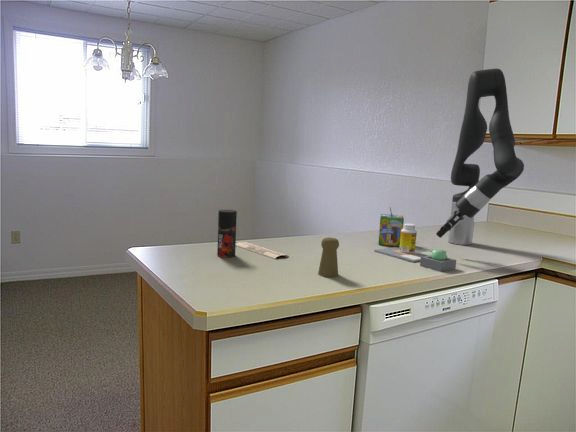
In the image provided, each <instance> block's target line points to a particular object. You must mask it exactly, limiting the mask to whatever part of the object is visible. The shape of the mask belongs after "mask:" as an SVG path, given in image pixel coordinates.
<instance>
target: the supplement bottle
mask: <svg viewBox="0 0 576 432" xmlns="http://www.w3.org/2000/svg"><path fill="white" fill-rule="evenodd" d="M417 232H418V231H417V230H416V224H415V223H404V224H403V229H402V230H401V238H400V246H399V247H400V249H399V250H400V251H401V252H404V253H414V252H415V247H416V243H417V242H416V241H417V234H418V233H417Z"/></svg>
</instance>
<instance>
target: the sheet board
mask: <svg viewBox="0 0 576 432" xmlns="http://www.w3.org/2000/svg"><path fill="white" fill-rule="evenodd" d="M399 249H400V246H391V247H385V248H377V249H374V251H373V252H375V253H379V254H382V255H386V256H389V257H392V258H396V259H398V260H401V261H402V260H403V261H406V262H410V263H418V262H419V263H420V261H421V257H424V256H430V255H432V250H429V249H428V250H427V249H424V248H420V247H416V246H415V252H414V253H404V252H401V251H400V250H399ZM446 257H447V258H448V255H447V254H446Z"/></svg>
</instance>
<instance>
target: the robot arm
mask: <svg viewBox="0 0 576 432" xmlns="http://www.w3.org/2000/svg"><path fill="white" fill-rule="evenodd" d="M506 85H507V84H506V78H505V75H504V72H503V71H502V69H500V68H488V69H479V70H474V71H473V72H472V73H471V74H470V76H469V79H468V84H467V90H466V91H467V92H466V102H465V109H464V114H463V120H462V123H461V127H460V133H459V139H458V144H457V151H456V155H455V158H454V161H453V164H452V169H451V173H450V182H451V184H452V185H453V186H462V187H468V188H467V189H466V190H464V191H462V192H458V193H455V194H453V196H452V199H451V201H452V202H451V209H450V216H449V217H448V218H447V220H446V222H445V223H444V224H443V225H442V226H441V227H440V229H438V231H437V232H436V236H437V237H438V238H439V239H440V238H442V237H443V236H445V234H446V233H448V239H447V241H448V243H450V244H456V245H461V246H462V245H463V246H465V245H466V246H467V245H468V246H469V245H471V244H472V243H473V237H474V231H475V230H474V228H475V216H476V215H477V214H478V213H479V212H480V211H481V210H482V209H483V208H485V206H486V205H488V203H489V202H490V201H491V199H492V198H494V197H495V196H496V195H497V194H498V193H499V192H500V191H502V189H503V188H505V187H507V186H509V185H510V184H511V183H513V182H514V181H516V180H517V179H518V178H519V177H520V176H521V175H522V174H523V172H524V170H525V164H524V162H523V160H522V159H521V158H519V157H517V155H516V152H515V145H516V139H515V135H514V132H513V128H512V125H511V120H510V113H509V103H508V93H507V86H506ZM485 97H494V101H495V108H494V111H493V114H492V116H491V118H490V121H489V126H488V122H487V121H486V118H485V117H484V115H483V113H482V112H481V110H480V107H479V106H480V105H479V102H480V99H481V98H485ZM487 132H489V137H490V141H491V145H492V147H493V153H492V154H493V162H494V166H495V169H496V170H495V171H494V172H492V173H488V174H485V175H484V176H483V177H481V179H480V173H481V168H480V166H479V164H477V163H476V164H475V163H465V162H466V161H467V160H468V158H469V157H471V156H472V155H473V154H474V153H475V152H477V151H478V150H479V149H480V148H481V147H482V146H483V144H484V143H485V140H486V135H487Z"/></svg>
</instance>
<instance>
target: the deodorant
mask: <svg viewBox="0 0 576 432" xmlns="http://www.w3.org/2000/svg"><path fill="white" fill-rule="evenodd" d="M237 214H238V211H237V210H234V209H218V215H217V222H218V223H217V251H216V252H217V253H216V255H217V257H219V258H227V259H228V258H230V259H231V258H234V257H236V247H237V246H236V243H237V241H236V240H237V220H238V219H237V218H238V217H237V216H238V215H237Z"/></svg>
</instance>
